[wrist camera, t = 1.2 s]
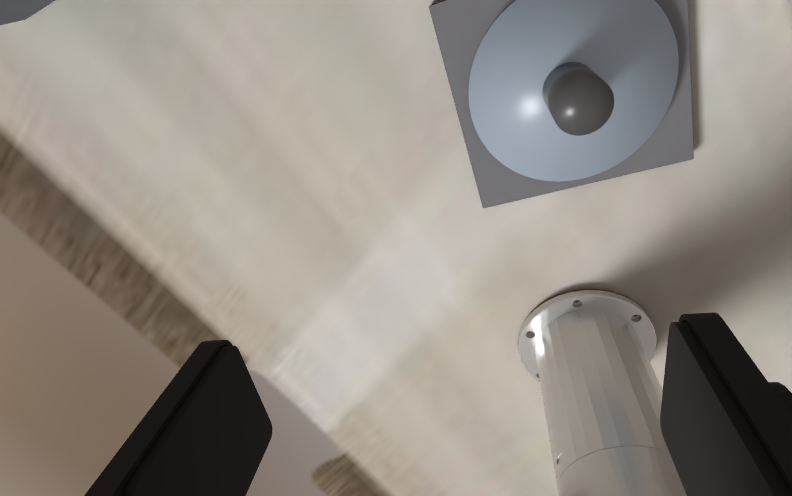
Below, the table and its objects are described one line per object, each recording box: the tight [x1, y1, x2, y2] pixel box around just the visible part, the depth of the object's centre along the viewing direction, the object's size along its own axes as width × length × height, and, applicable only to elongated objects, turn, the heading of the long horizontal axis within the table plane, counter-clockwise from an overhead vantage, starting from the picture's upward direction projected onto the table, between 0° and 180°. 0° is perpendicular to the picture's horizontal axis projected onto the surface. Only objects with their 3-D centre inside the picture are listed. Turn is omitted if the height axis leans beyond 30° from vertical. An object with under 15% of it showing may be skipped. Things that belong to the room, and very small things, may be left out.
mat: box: [429, 0, 694, 208], centre depth 34 cm, size 16×16×1 cm
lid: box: [468, 0, 679, 182], centre depth 31 cm, size 14×14×6 cm
